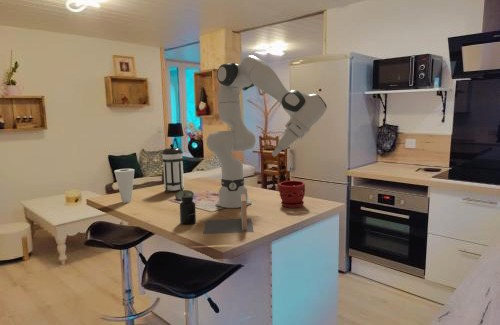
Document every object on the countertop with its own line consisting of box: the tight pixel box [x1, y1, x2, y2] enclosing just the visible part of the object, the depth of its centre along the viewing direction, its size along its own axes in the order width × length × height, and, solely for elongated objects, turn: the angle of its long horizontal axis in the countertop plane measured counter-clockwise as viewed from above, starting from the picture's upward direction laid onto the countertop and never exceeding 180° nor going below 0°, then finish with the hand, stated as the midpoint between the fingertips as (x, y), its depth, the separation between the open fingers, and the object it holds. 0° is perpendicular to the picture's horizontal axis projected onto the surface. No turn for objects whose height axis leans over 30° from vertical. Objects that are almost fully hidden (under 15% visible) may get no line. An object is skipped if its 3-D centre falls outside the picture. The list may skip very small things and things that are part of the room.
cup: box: [113, 168, 136, 204], centre depth 190 cm, size 11×11×18 cm
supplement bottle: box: [179, 195, 197, 226], centre depth 150 cm, size 7×7×12 cm
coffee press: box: [161, 143, 185, 194], centre depth 213 cm, size 17×16×30 cm
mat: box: [202, 217, 254, 235], centre depth 144 cm, size 18×20×1 cm
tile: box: [240, 194, 248, 230], centre depth 143 cm, size 12×2×12 cm, turn 3°
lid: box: [175, 189, 195, 201], centre depth 195 cm, size 11×10×5 cm
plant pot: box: [278, 180, 306, 209], centre depth 174 cm, size 13×13×12 cm
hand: (273, 155), depth 140 cm, fingers open, 8 cm apart
